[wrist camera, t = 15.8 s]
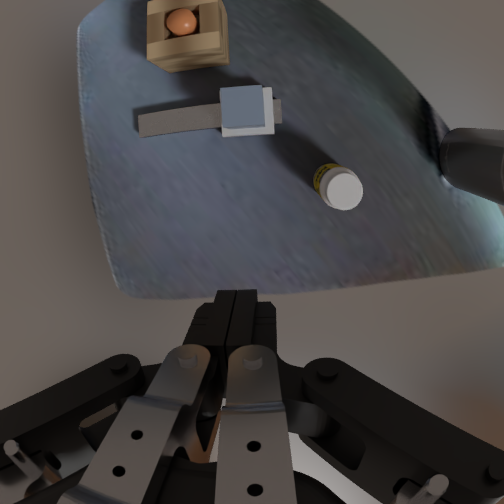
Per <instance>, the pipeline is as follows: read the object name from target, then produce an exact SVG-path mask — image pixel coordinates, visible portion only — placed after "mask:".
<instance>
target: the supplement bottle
mask: <svg viewBox="0 0 504 504" xmlns="http://www.w3.org/2000/svg"><path fill="white" fill-rule="evenodd" d="M313 185H314V188H315V190H316V192H317V193H318V194H319V195H320V197H321V198H322V199H323V201H324V202H325V203H326V204H328V205H329V206H331V207H333V208H336V209H340V210H349V209H352V208H354V207H355V206H357V205H358V203H359V202H360V201H361V198H362V195H363V188H362V184H361V182H360V181H359V179H358V177H357V176H356V174H355V173H354V172H353V171H351V170H350V169H348V168H345V167H343V166H340V165H338V164H335V163H327V164H324V165H322V166H320V167H319V168H318V169H317V170H316V172H315V174H314V177H313Z"/></svg>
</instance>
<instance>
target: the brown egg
mask: <svg viewBox="0 0 504 504" xmlns="http://www.w3.org/2000/svg"><path fill="white" fill-rule="evenodd" d="M167 27H168V28H169V29H170V30H171V31H172V32H173V33H174V34H175V35H176V36H177V37H183V36H189V35H195V34H197V33H198V32H199V29H200V24H199V22H198V21H197V19H196V18H195V16H194V15H193V13H192V12H191V11H190V10H188V9H178V10H176V11H174V12H172V13H171V14H170V15H169V16H168V18H167Z"/></svg>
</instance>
